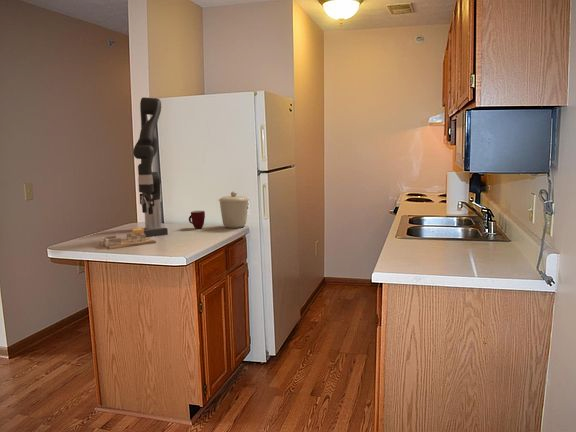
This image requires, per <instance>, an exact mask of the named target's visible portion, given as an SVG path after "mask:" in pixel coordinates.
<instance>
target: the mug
mask: <svg viewBox="0 0 576 432" xmlns="http://www.w3.org/2000/svg"><path fill="white" fill-rule="evenodd" d="M205 213H206V212H205V210H191V211H190V215H189V217H188V221H189V223H190V224H192V226H193V228H194V229H195V230H201V229H203V227H204V225H205V220H206V219H205V218H206V214H205Z"/></svg>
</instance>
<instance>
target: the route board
mask: <svg viewBox="0 0 576 432" xmlns="http://www.w3.org/2000/svg"><path fill="white" fill-rule="evenodd" d="M125 234H126V238H123V239H122V238H121V237H116V235H110V236H109V235H108V236H102V237H101V241H100V242H99V244H100V245H101V246H103V247H105V248H107V249H109V250H114V249H123V248H129V247H136V246H143V245H150V244H151V245H152V244H157V240H156V239H155V240H154V239H152V238H151V237H146V234H140V232H135V235H132V232H126V233H125Z"/></svg>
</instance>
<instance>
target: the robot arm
mask: <svg viewBox="0 0 576 432" xmlns="http://www.w3.org/2000/svg"><path fill="white" fill-rule="evenodd" d="M139 104H140V106H139V108H140V110H139V111H140V127H141V128H140V132H139V137H138V140H137V142H136V144H135V145H134V147H133V151H132V153H133V156H134V158H135V159H137V160H140V163H139V164H138V165H137V171H138V172H137V174H138V177H137V181H138V193H139V204H140V205H141V209H142V213H143V214H144V224H145V228H144V230H149V229H157V228H162V212H161V211H162V209H161V208H162V207H161V175H160V173H159V172H157V171H153V170H152V169H153V168H152V167H153V161H154V158H155V156H156V154H157V152H158V148H159V147H158V142H159V141H158V136H157V134H156V132H155V130H156V127H157V124H158V122H159V119H160V115H161V112H162V101H161V100H160V99H159V98H156V97H154V98H153V97H141V99H140V103H139ZM148 115H149V116H151V117H150V118H149V119H148Z"/></svg>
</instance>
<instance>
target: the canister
mask: <svg viewBox="0 0 576 432" xmlns="http://www.w3.org/2000/svg"><path fill="white" fill-rule="evenodd" d="M218 201H219V207H220V213H221V221H222V225H223V226H224V227H225V228H230V229H238V228H243V227H245V226H246V224H247V218H248V208H249V207H248V205H249V201H250V198H248V197H247V196H243V195H237V191H231V192H230V195H227V196H222V197H220V198H219V199H218Z"/></svg>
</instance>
